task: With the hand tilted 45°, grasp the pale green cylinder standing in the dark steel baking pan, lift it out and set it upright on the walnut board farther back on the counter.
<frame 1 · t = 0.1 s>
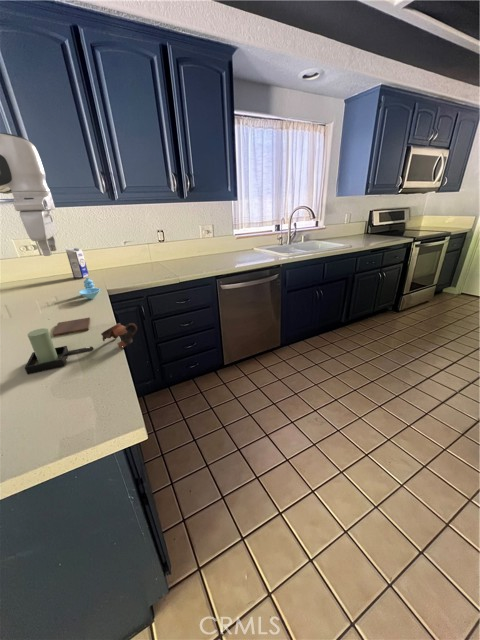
hand: (50, 253, 80), 33 cm above the worktop, tool pointing down, fingers open, 8 cm apart
brown irregular piece: (122, 342, 96), on the worktop
milk carton: (81, 277, 184), on the worktop
pan: (49, 362, 85), on the worktop
blue conch shell: (91, 297, 145), on the worktop
pale green cylinder: (43, 347, 83), in the pan
board: (73, 327, 109), on the worktop
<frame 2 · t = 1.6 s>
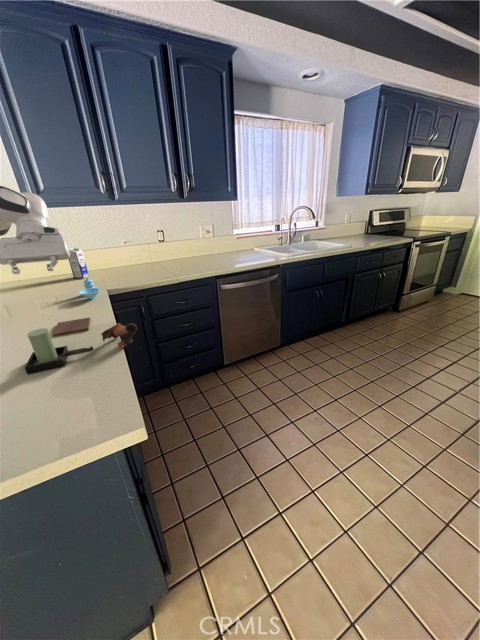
hand: (33, 271, 84), 27 cm above the worktop, tool tilted 45°, fingers open, 8 cm apart
nothing on the worktop moved.
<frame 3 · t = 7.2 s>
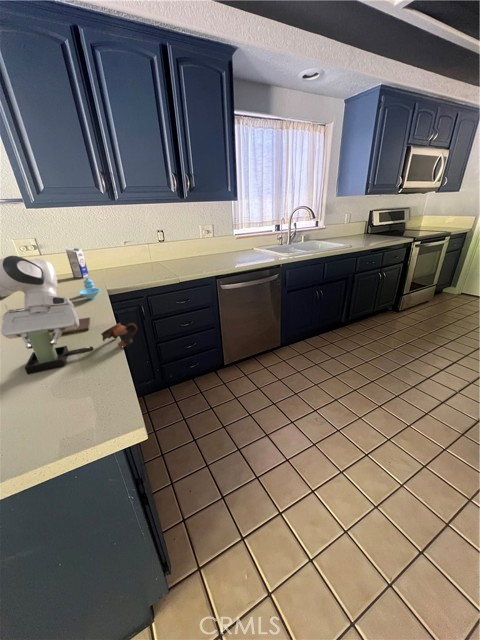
hand: (42, 346, 82), 6 cm above the worktop, tool tilted 45°, fingers closed on pale green cylinder, 5 cm apart
pale green cylinder: (43, 347, 83), in the pan, touching gripper
everything else where it was.
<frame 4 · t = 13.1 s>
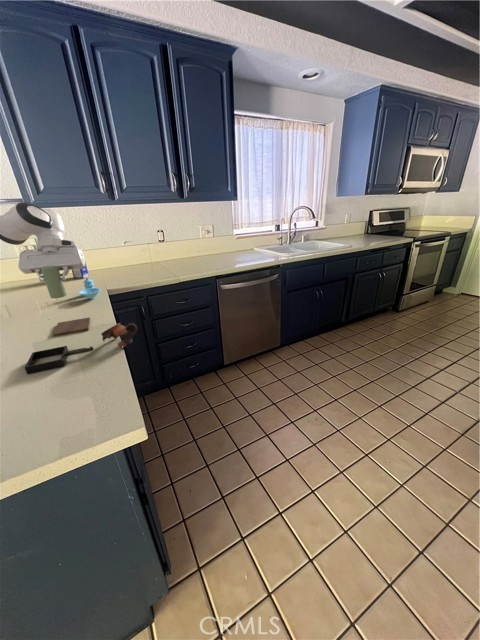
hand: (53, 280, 96), 21 cm above the worktop, tool tilted 45°, fingers closed on pale green cylinder, 5 cm apart
pale green cylinder: (54, 281, 97), point 20 cm above the worktop, touching gripper
everything else where it was.
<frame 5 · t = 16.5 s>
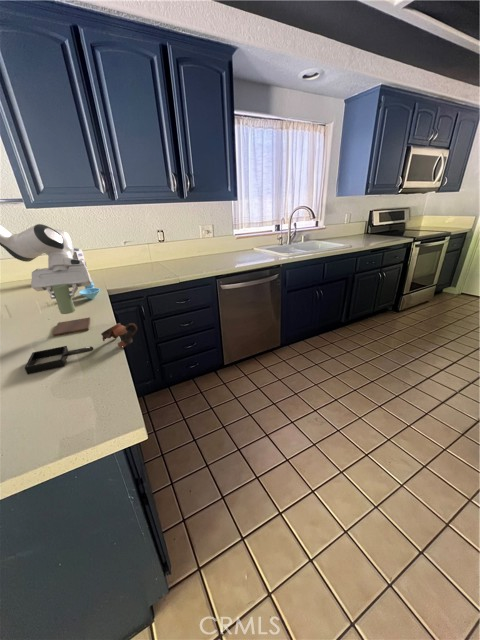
hand: (63, 297, 103), 13 cm above the worktop, tool tilted 45°, fingers closed on pale green cylinder, 5 cm apart
pale green cylinder: (64, 298, 104), point 13 cm above the worktop, touching gripper
everything else where it was.
when the fingers open (7 cm above the worktop, at t = 19.4 s): pale green cylinder stays where it is, resting on board.
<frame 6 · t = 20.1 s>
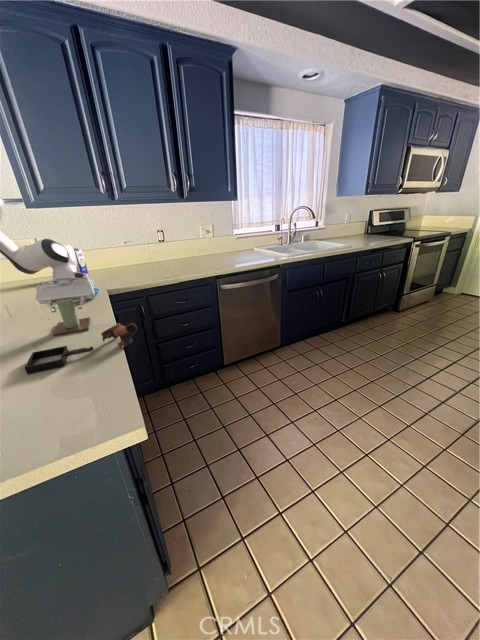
hand: (67, 310, 105), 8 cm above the worktop, tool tilted 45°, fingers open, 8 cm apart
pale green cylinder: (68, 312, 106), on the board, point 6 cm above the worktop
everything else where it was.
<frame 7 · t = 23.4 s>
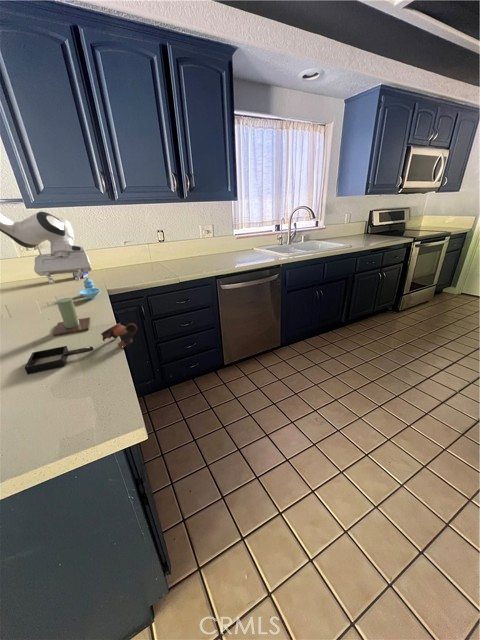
hand: (64, 281, 108), 18 cm above the worktop, tool tilted 45°, fingers open, 8 cm apart
nothing on the worktop moved.
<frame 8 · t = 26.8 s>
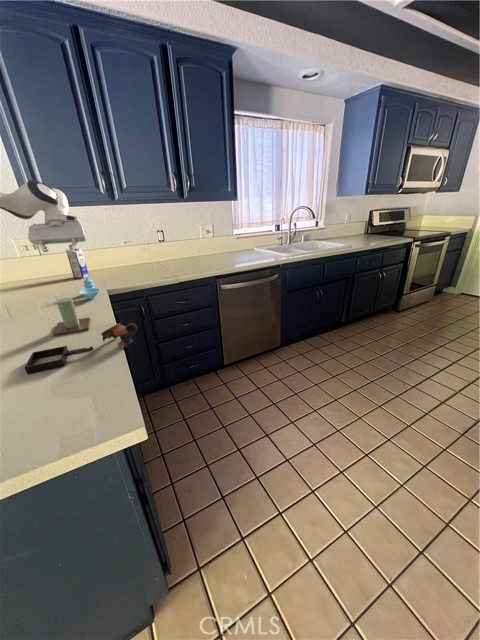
hand: (58, 250, 107), 29 cm above the worktop, tool tilted 45°, fingers open, 8 cm apart
nothing on the worktop moved.
at the end: pale green cylinder inside the target area on the board (0.0 cm from its centre), point 6.5 cm above the board's base; pale green cylinder tilted 0°; the gripper is holding nothing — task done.
